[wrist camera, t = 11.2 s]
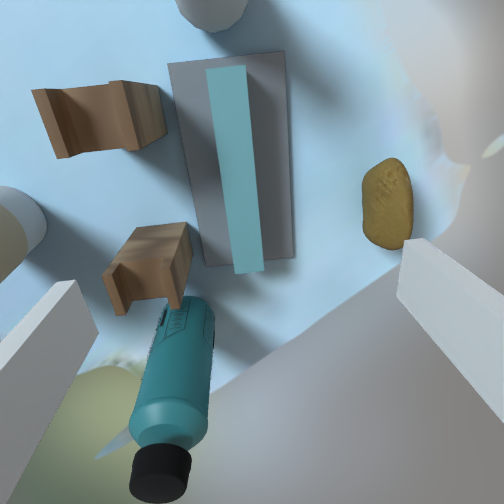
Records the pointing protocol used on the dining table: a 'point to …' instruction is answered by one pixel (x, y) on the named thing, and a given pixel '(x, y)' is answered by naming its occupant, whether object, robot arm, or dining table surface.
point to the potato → (387, 204)
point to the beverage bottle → (172, 402)
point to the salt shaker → (212, 13)
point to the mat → (264, 148)
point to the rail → (236, 164)
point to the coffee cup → (18, 228)
